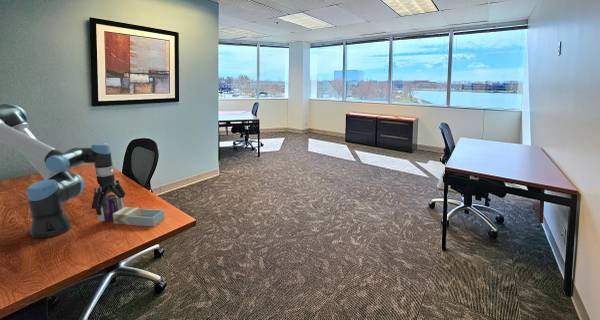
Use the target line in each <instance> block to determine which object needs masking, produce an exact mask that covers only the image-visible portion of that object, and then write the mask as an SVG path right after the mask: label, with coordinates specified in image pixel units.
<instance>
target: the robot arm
mask: <svg viewBox="0 0 600 320" xmlns="http://www.w3.org/2000/svg"><path fill="white" fill-rule="evenodd" d="M28 121H29V118H28V114H27V112H26V111H25V110H24V109H23V107H20V106H19V105H16V104H11V103H9V104H8V103H0V143H1V144H4V145H6V146H8V147H9V148H12V149H13V150H16V151H18V152H20V153H21V154H22V156H24V158H25V159H26V160H27V161H28V162H29V163H30V164H31V165H32V166H33V168H35V170H37V172H38V174H39V175H41V177H42V178H43V180H40V181H36V182H34V183H32V184H29V186H27V188H26V190H25V191H26V198H27V201H28V207H29V210H30V214H31V218H32V219H31V225H30V229H29V234H30V236H31V238H33V239H43V238H45V239H46V238H51V237H54V236H55V237H56V236H58V235H59V236H60V235H62V234H64V233H66V232H68V231H69V230H70V229H71V227H72V224H71V221H70V220H69V218H68V217H67V215H66V213H64V209H63V208H64V207H63V204H65V203H66V202H68V201H70V200H72V199H75V198H77V197H78V196H79V195H81V194H82V193H83V191H84V189H85V181H84V179H83V177H82V176H80V175H79V174H78V173H73V172H72V173H71V172H70V169H72V168H75V167H77V166H80V165H82V164H93V165H94V171H95V175H96V181H97V184H98V185H99V187H94V189H93V190H94V191H93V192H94V193H93V199H92V203H91V204H92V205H91V209H93V210H95V211H96V216H97V219H98V221H99V222H100V221H101V222H103V221H106V220H105V219H104V213H103V208H102V204H103V201H104V199H105V196H107V195H109V193H112V194H113V195H116V198H117V199H118V206H119V210H121V209H122V208H124V207H125V206H124V198H125V195H126V192H125V190H124V189H123V187H122V185H121V184H120V181H119V180H118V179H116V177H115V174H114V172H115V171H114V167H113V161H112V160H113V159H112V151H111V148H110V144H109V143H107V142H96V143H92V144H91V147H78V146H77V147H71V148H68V149H67V150H66V151H64V152H63V151H61V150H58V149H57V148H55V147H52V146H51V145H49V144H46V143H45V142H42V141H40V140H38V138H37V136H35V135H34V133H32V132H31V130H30V129H29V128H30V127H29V126H30V124H29V123H28Z"/></svg>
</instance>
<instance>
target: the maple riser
mask: <svg viewBox="0 0 600 320" xmlns="http://www.w3.org/2000/svg"><path fill="white" fill-rule="evenodd" d="M123 207H124V208H122V209H121V210H119V211H117V212H115V213H113V220H114V221H113V224H116V225H117V224H119V225H120V224H121V225H129V218H128V216H139V217H141V212H140V208H139V207H131V206H130V207H129V206H123Z"/></svg>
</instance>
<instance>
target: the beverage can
mask: <svg viewBox="0 0 600 320" xmlns="http://www.w3.org/2000/svg"><path fill="white" fill-rule="evenodd" d="M117 198H118V197H117V196H116V195H115V194H107V195H106V196H105V199H104V201H103V204H102V207H101V208H103V213H104V219H105V220H104V221H107V222H114V220H113V213H115V212H117V211H119V206H118V199H117Z"/></svg>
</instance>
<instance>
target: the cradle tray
mask: <svg viewBox="0 0 600 320" xmlns="http://www.w3.org/2000/svg"><path fill="white" fill-rule="evenodd" d="M139 211H140V217H139V216H128V218H129V224H128V225H132V226H133V225H134V226H143V227H144V226H146V227H155V226H156V225H158V224H159V223H160V222H162V221H164V220H165V218H166V216H165V210H164V209H156V208H155V209H152V208H139Z"/></svg>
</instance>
